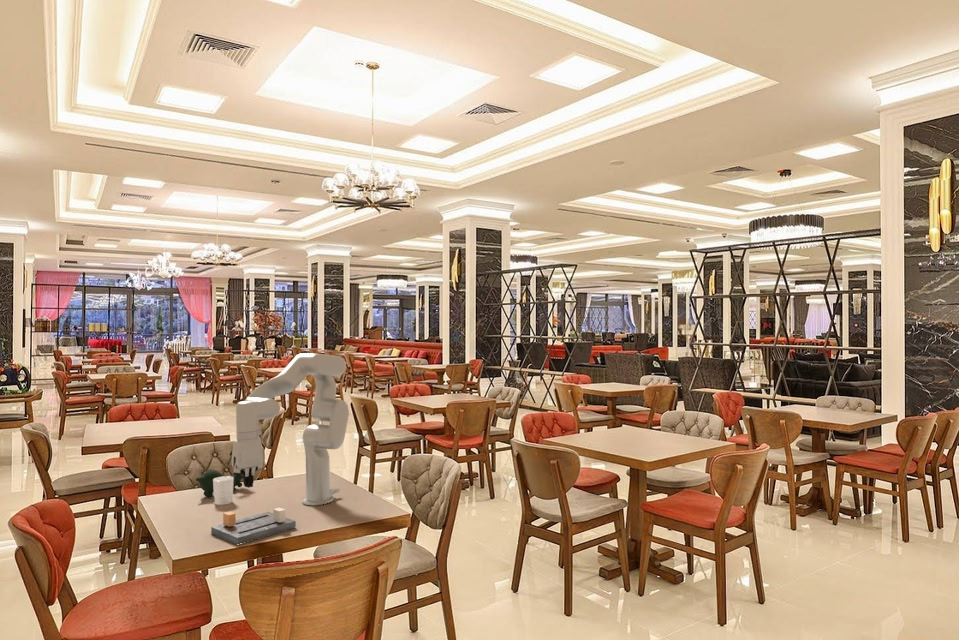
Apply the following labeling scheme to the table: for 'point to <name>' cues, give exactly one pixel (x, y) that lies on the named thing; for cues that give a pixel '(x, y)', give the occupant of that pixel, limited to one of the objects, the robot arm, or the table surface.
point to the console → (252, 528)
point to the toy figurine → (209, 475)
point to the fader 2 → (279, 515)
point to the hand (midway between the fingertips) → (248, 486)
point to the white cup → (223, 490)
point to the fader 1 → (229, 519)
